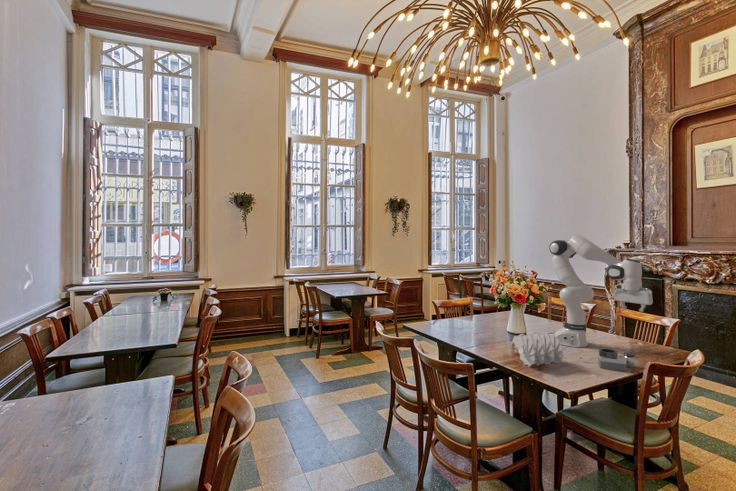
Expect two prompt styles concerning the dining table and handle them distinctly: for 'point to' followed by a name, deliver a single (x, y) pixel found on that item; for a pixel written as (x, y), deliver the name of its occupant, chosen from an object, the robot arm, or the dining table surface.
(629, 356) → the lens
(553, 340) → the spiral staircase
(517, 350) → the teacup with lid
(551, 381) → the dining table surface
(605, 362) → the grey stacked block
